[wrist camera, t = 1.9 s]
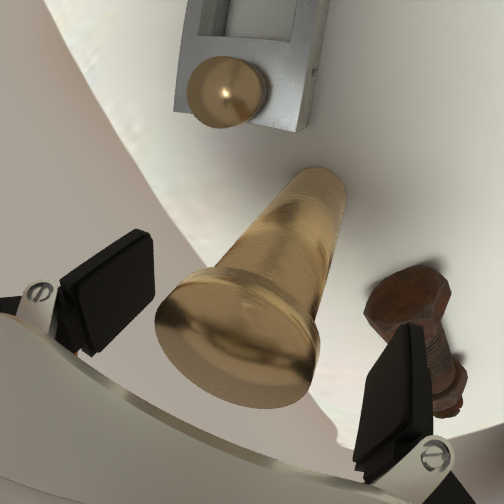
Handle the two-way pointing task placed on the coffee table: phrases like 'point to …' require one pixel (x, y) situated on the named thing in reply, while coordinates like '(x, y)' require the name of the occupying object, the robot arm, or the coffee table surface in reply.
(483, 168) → the coffee table surface
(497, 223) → the coffee table surface
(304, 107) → the brass knob on bracket
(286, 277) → the link pin
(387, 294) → the bolt
